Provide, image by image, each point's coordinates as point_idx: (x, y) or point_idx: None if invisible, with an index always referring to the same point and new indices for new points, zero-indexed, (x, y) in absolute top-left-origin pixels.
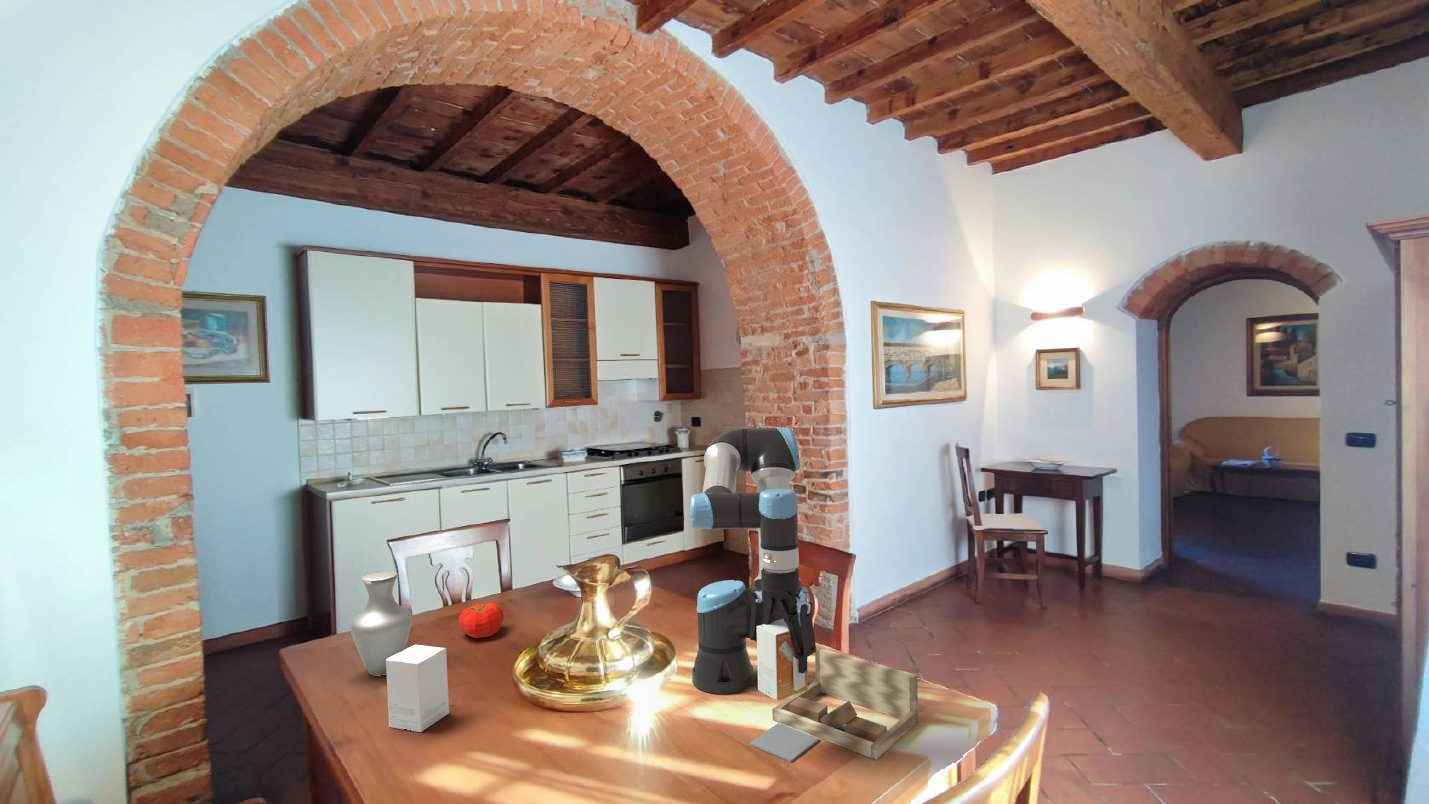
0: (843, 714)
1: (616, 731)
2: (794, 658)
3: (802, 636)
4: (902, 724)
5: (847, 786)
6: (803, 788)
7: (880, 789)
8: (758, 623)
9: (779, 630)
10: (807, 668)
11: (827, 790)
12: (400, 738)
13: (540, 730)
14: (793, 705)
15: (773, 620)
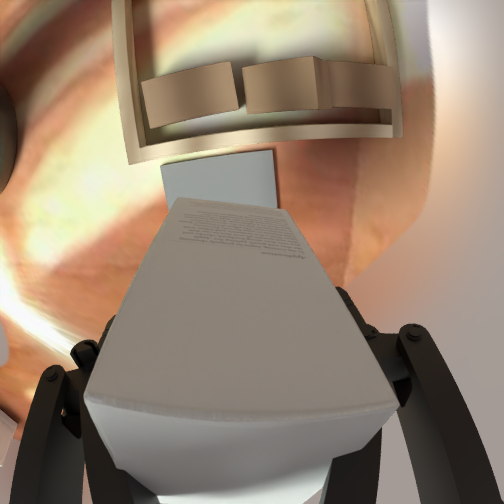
0: (325, 107)
1: (50, 357)
2: None
3: (410, 445)
4: (392, 27)
5: (386, 233)
6: (337, 282)
7: (423, 205)
8: (67, 454)
9: (279, 500)
10: (347, 293)
11: (367, 261)
12: (23, 430)
13: (29, 391)
14: (162, 124)
15: (133, 486)
